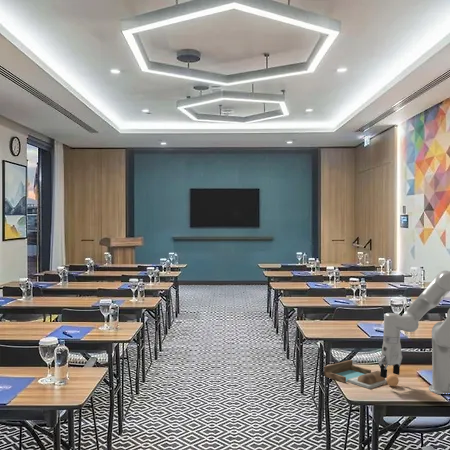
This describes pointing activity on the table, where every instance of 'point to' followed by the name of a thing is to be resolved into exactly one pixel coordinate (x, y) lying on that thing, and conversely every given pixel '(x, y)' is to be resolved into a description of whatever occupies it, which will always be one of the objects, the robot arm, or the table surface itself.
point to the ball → (392, 380)
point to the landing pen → (342, 370)
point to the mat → (350, 374)
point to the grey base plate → (354, 381)
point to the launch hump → (371, 378)
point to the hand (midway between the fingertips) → (389, 375)
